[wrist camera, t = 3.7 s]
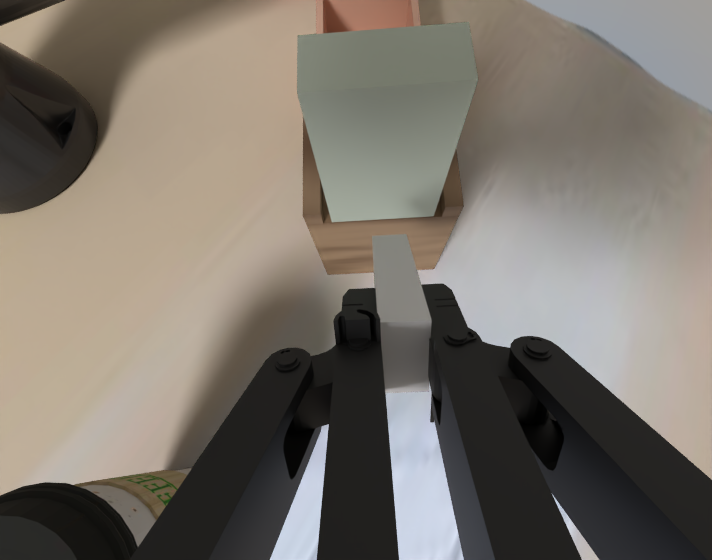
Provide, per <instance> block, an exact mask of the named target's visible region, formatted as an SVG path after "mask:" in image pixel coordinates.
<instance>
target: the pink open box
mask: <svg viewBox="0 0 712 560" xmlns="http://www.w3.org/2000/svg"><path fill="white" fill-rule="evenodd" d="M411 26H421V23H420V14H419V5H418V0H316V31H317V34H323V33H335V32H348V31H361V30H373V29H386V28H398V27H411Z"/></svg>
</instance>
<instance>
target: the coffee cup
mask: <svg viewBox="0 0 712 560" xmlns="http://www.w3.org/2000/svg"><path fill="white" fill-rule="evenodd" d="M191 469H192V468H187V469H181V470H175V471H170V470H162V471H156V472H149V473H143V474H136V475H130V476H123V477H117V478H110V479H103V480H97V481H91V482H85V483H80V484H75V485H71V484H67V483H46V482H45V483H39V484H34V485H28V486H23V487H21V488H18V489H16V490H13V491H11V492H8V493H6V494H3V495H1V496H0V560H130V558H131V557H132V555H133V554H134V552H135V551H136V549H137V548H138V546H139V545H140V544H141V542H142V541H143V539H144V538H145V536H146V535H147V533H148V532H149V530H150V529H151V527H152V526H153V525H154V523H155V522H156V520H157V519H158V517H159V516H160V514H161V513H162V511H163V510H164V508H165V507H166V506H167V504H168V503H169V501H170V500H171V498H172V497H173V495H174V494H175V492H176V491H177V490H178V488H179V487H180V485H181V484H182V482H183V481H184V479H185V478H186V476H187V475H188V473H189V472H190V471H191Z"/></svg>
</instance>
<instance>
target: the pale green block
mask: <svg viewBox="0 0 712 560" xmlns="http://www.w3.org/2000/svg"><path fill="white" fill-rule="evenodd" d="M477 82H478V74H477V68H476V62H475V56H474V50H473V44H472V38H471V32H470V26H469V22H461V23H449V24H436V25H424V26H411V27H398V28H386V29H373V30H361V31H348V32H335V33H323V34H310V35H298V53H297V94H298V98H299V102H300V105H301V109H302V113H303V117H304V120H305V124H306V128H307V132H308V135H309V139H310V143H311V146H312V150H313V154H314V158H315V161H316V165H317V169H318V173H319V176H320V180H321V184H322V187H323V191H324V195H325V199H326V202H327V206H328V210H329V213H330V217H331V221H332V222H345V221H362V220H379V219H397V218H414V217H431V216H434V214H435V211H436V208H437V204H438V201H439V198H440V195H441V192H442V189H443V186H444V183H445V180H446V177H447V174H448V171H449V168H450V165H451V162H452V159H453V156H454V153H455V149H456V146H457V143H458V140H459V137H460V134H461V131H462V128H463V125H464V122H465V119H466V116H467V113H468V110H469V107H470V104H471V101H472V98H473V95H474V91H475V88H476V85H477Z"/></svg>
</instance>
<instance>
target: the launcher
mask: <svg viewBox="0 0 712 560" xmlns="http://www.w3.org/2000/svg"><path fill="white" fill-rule="evenodd" d="M463 206H464V205H463V197H462V190H461V182H460V175H459V167H458V160H457V153H456V149H455V153H454V156H453V159H452V162H451V165H450V168H449V171H448V174H447V177H446V180H445V183H444V186H443V189H442V192H441V195H440V198H439V201H438V204H437V208H436V211H435V214H434V216H431V217H414V218H397V219H379V220H362V221H345V222H332V221H331V217H330V213H329V210H328V206H327V202H326V199H325V195H324V191H323V187H322V184H321V180H320V176H319V173H318V169H317V165H316V161H315V158H314V154H313V150H312V146H311V143H310V139H309V135H308V132H307V128H306V124H305V120H304V117H303V217H304V219H305V222H306V224H307V226H308V229H309V231H310V234H311V236H312V238H313V241H314V243H315V245H316V248H317V250H318V252H319V255H320V257H321V259H322V262H323V264H324V267H325V269H326V271H327V274H328V275H330V274H349V273H368V272H374V267H373V245H372V236H381V235H399V234H406V235H407V238H408V241H409V245H410V248H411V252H412V255H413V258H414V262H415V265H416V269H417V270H425V269H434V268H435V266H436V264H437V261H438V259H439V257H440V255H441V253H442V251H443V249H444V247H445V245H446V242H447V240H448V238H449V236H450V234H451V232H452V230H453V228H454V225H455V223H456V221H457V219H458V217H459V215H460V213H461V211H462V209H463Z"/></svg>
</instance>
